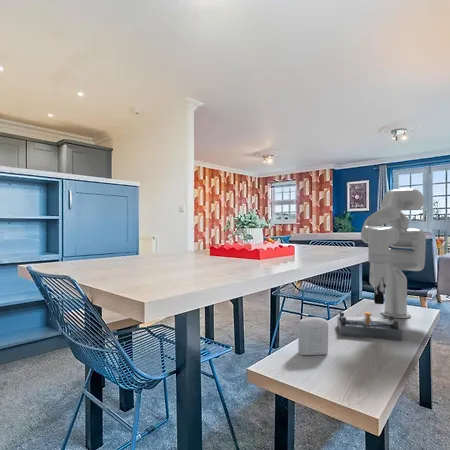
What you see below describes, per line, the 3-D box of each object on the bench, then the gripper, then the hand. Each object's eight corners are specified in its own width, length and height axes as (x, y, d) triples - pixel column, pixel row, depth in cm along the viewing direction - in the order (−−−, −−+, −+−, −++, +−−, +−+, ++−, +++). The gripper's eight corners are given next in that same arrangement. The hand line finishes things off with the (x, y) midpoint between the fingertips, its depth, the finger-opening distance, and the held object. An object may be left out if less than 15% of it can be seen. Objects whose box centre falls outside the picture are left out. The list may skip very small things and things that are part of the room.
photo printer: (324, 350, 110) (324, 315, 110) (330, 355, 106) (330, 318, 106) (296, 351, 109) (296, 316, 108) (301, 356, 104) (301, 320, 104)
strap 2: (393, 322, 127) (393, 319, 127) (396, 326, 122) (396, 323, 122) (368, 318, 129) (369, 316, 129) (371, 322, 124) (371, 319, 124)
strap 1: (341, 322, 127) (341, 319, 127) (340, 318, 132) (340, 315, 132) (366, 322, 125) (366, 319, 125) (363, 319, 130) (363, 316, 130)
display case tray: (337, 325, 135) (337, 307, 135) (393, 330, 130) (393, 310, 130) (340, 335, 124) (340, 315, 124) (401, 340, 118) (402, 319, 118)
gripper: (365, 255, 134) (365, 298, 135) (372, 261, 119) (372, 308, 120) (384, 255, 132) (384, 298, 133) (394, 261, 118) (394, 309, 118)
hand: (378, 303), depth 127 cm, fingers closed
